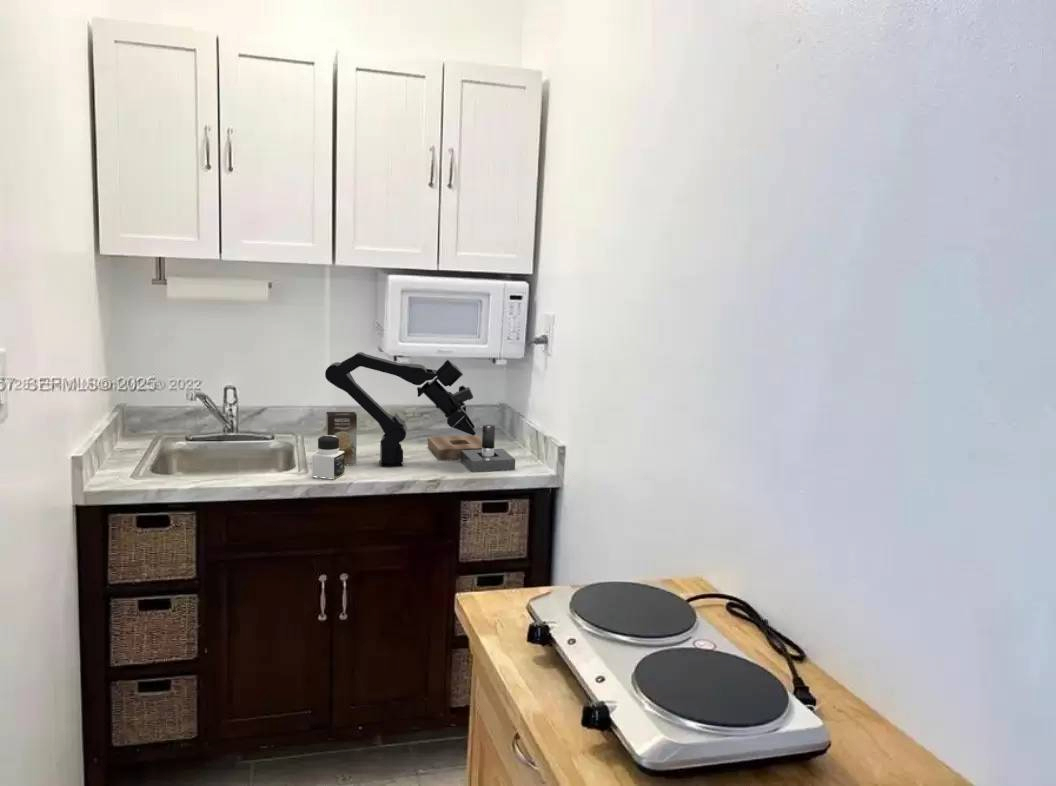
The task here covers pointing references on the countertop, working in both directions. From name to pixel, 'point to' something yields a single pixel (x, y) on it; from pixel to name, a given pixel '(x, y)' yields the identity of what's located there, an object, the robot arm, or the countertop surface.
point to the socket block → (487, 460)
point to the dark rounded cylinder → (488, 440)
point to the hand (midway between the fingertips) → (474, 431)
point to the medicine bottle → (328, 458)
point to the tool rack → (453, 446)
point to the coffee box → (343, 432)
